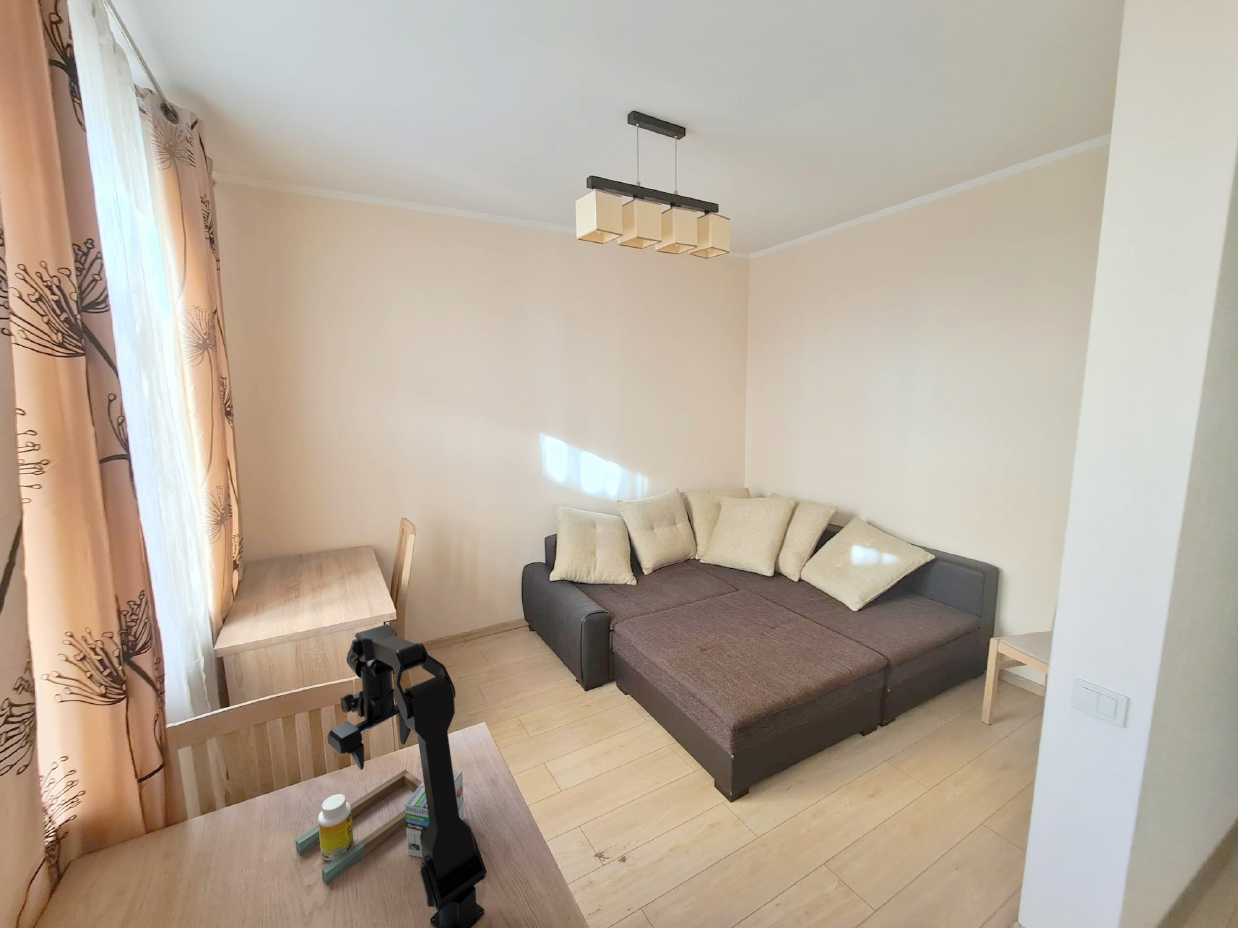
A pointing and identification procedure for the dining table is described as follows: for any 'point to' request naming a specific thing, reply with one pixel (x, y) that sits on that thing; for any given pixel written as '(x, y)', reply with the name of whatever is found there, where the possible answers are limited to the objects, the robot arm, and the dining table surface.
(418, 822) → the light bulb box
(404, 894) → the dining table surface
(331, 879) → the bay
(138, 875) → the dining table surface
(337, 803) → the supplement bottle
